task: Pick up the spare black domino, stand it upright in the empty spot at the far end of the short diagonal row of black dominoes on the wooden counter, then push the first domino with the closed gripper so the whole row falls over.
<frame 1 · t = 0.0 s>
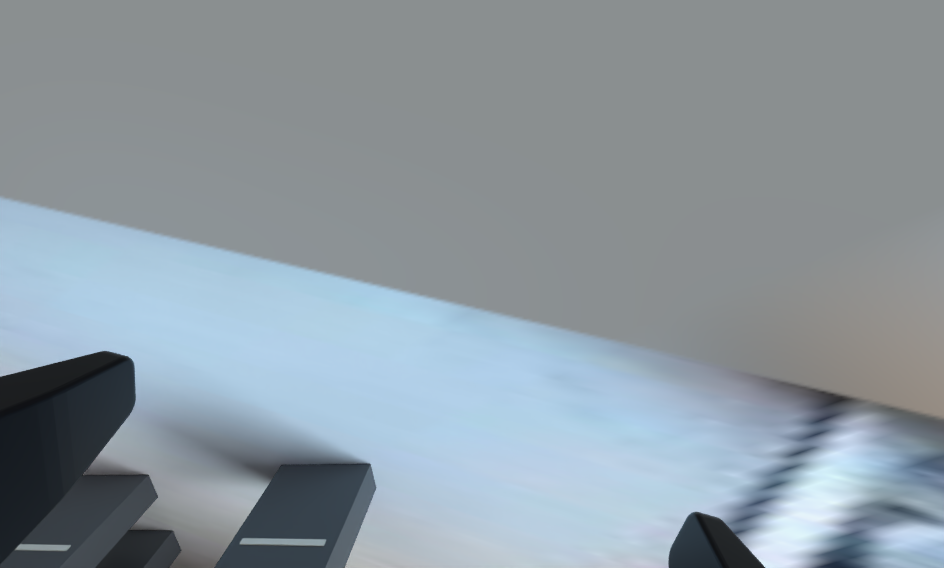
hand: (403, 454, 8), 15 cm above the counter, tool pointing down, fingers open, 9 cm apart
domino 3: (140, 540, 32), on the counter
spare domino: (328, 476, 28), on the counter
domino 4: (115, 486, 31), on the counter
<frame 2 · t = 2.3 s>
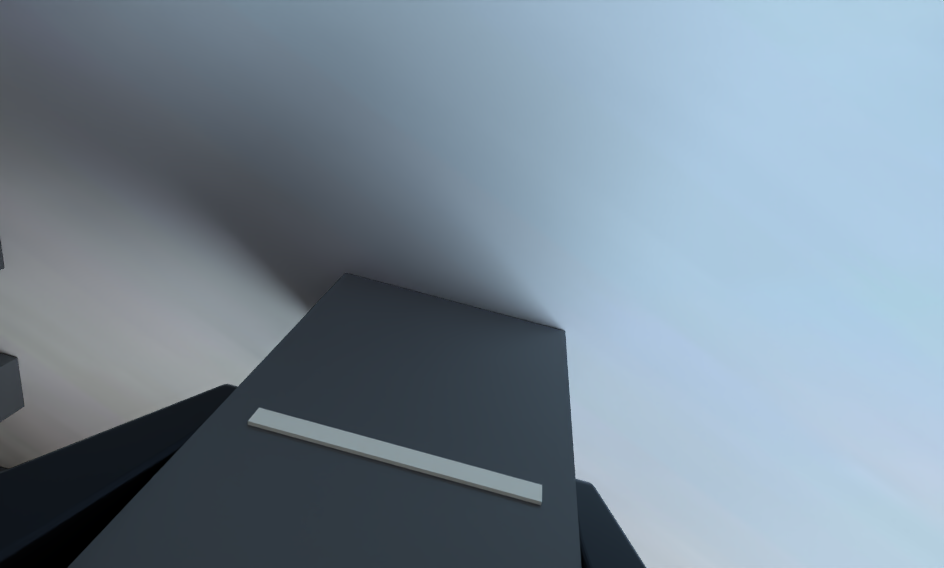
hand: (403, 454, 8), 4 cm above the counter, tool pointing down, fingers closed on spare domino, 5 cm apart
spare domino: (447, 332, 12), on the counter, touching gripper
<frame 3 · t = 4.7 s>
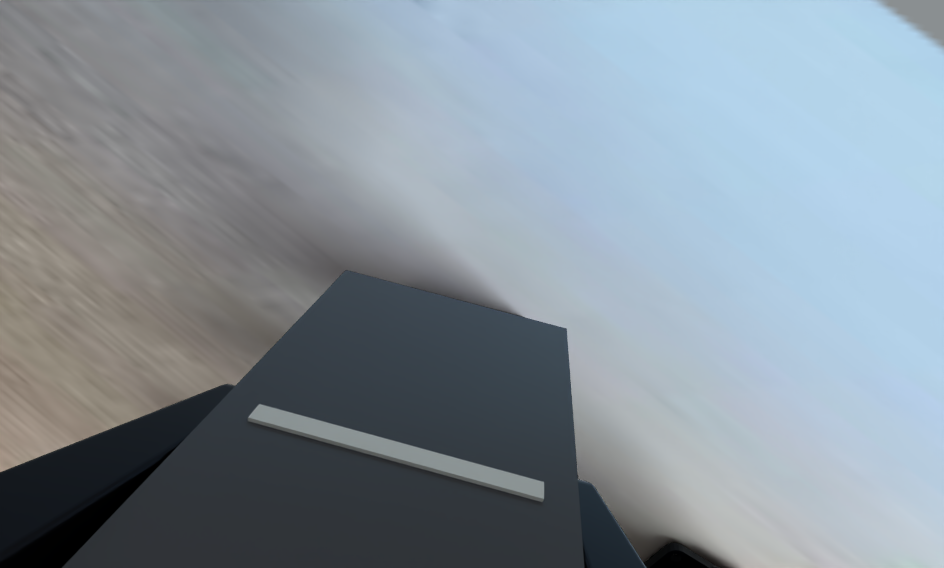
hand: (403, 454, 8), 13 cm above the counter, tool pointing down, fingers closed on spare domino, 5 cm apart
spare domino: (448, 330, 12), point 9 cm above the counter, touching gripper
when the fingers open (5 cm above the counter, at t = 6.9 s): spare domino drops 1 cm, on the counter.
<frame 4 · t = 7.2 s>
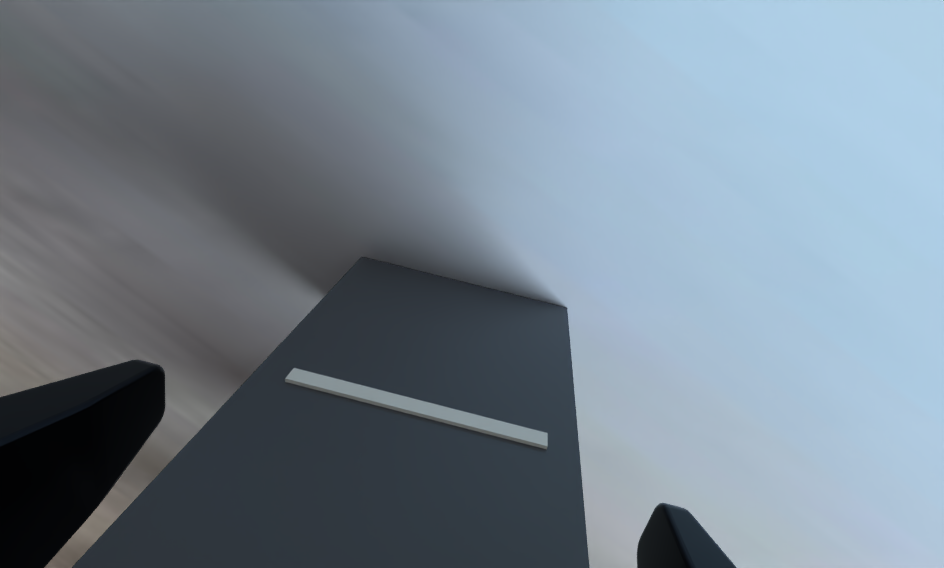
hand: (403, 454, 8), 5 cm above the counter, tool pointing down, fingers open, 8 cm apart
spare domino: (457, 311, 13), on the counter
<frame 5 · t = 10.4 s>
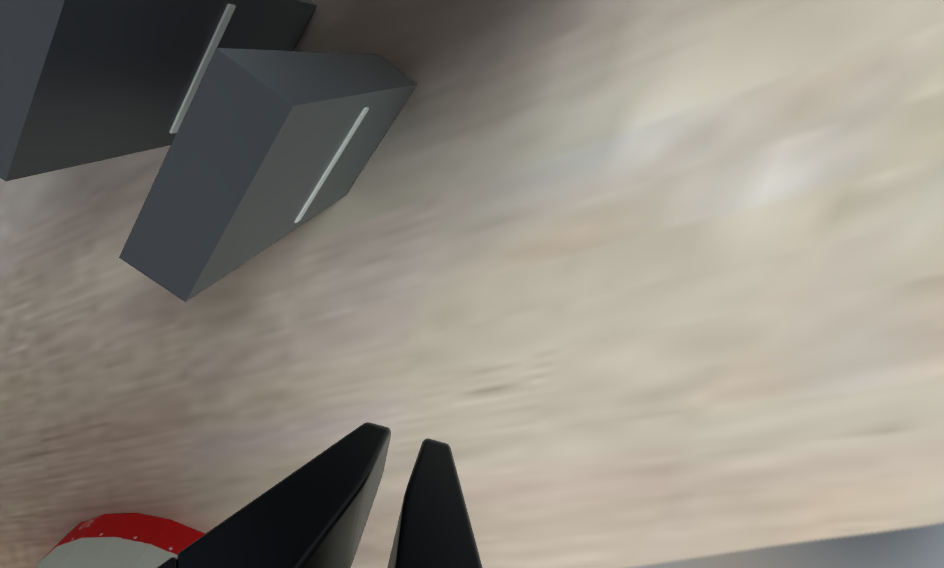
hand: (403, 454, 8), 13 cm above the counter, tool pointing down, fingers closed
domino 2: (264, 54, 19), on the counter
domino 1: (361, 128, 20), on the counter
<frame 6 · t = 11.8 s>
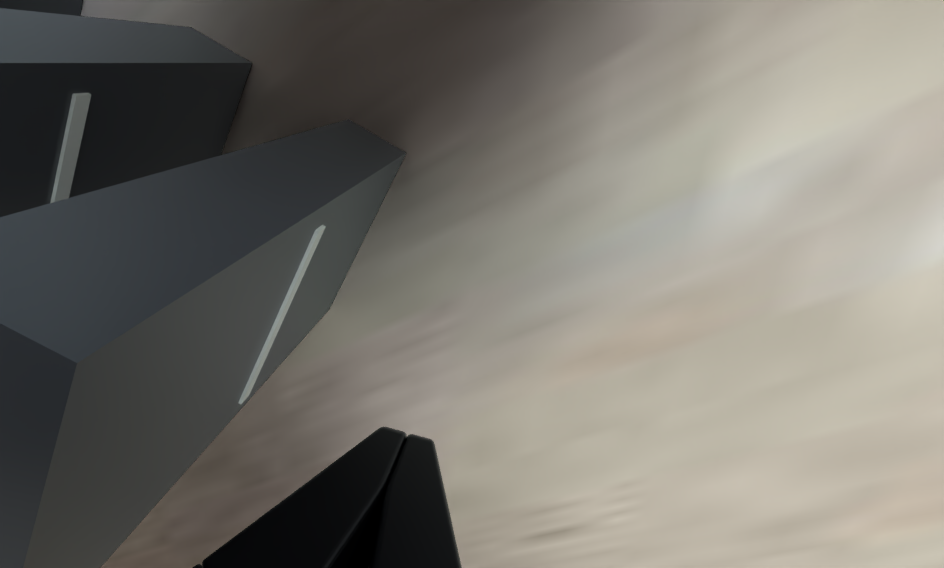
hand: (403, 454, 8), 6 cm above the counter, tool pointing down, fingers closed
domino 3: (39, 52, 13), on the counter
domino 2: (192, 138, 14), on the counter
domino 1: (338, 221, 14), on the counter
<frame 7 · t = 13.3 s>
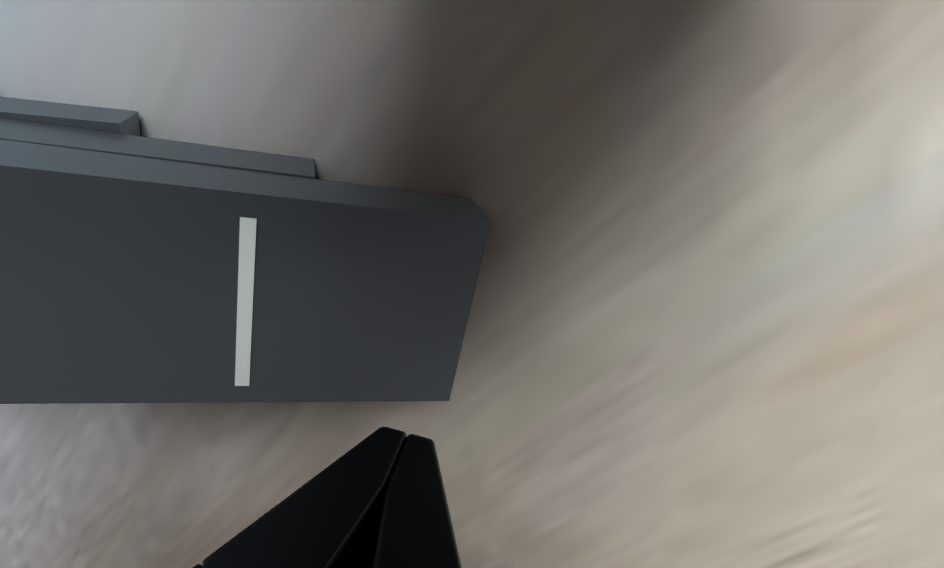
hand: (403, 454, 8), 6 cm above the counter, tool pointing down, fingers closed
domino 3: (140, 216, 14), point 1 cm above the counter, tilted 66°, touching domino 2, domino 4
domino 2: (307, 262, 14), point 1 cm above the counter, tilted 67°, touching domino 1, domino 3
domino 1: (459, 302, 14), point 1 cm above the counter, tilted 67°, touching domino 2
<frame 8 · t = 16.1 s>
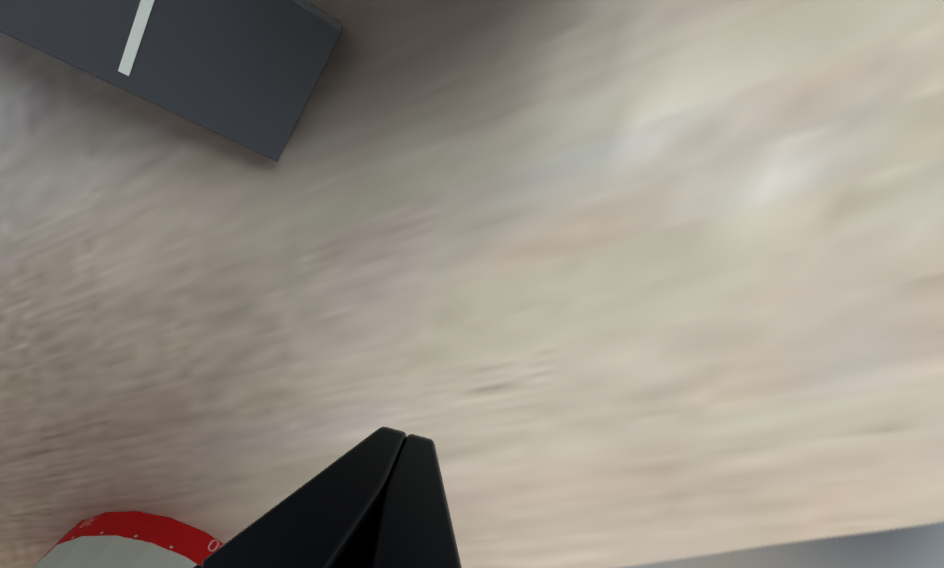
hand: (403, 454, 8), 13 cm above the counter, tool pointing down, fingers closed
domino 1: (308, 93, 19), point 1 cm above the counter, tilted 67°, touching domino 2
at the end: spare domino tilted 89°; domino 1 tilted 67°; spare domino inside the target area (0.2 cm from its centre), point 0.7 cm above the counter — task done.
